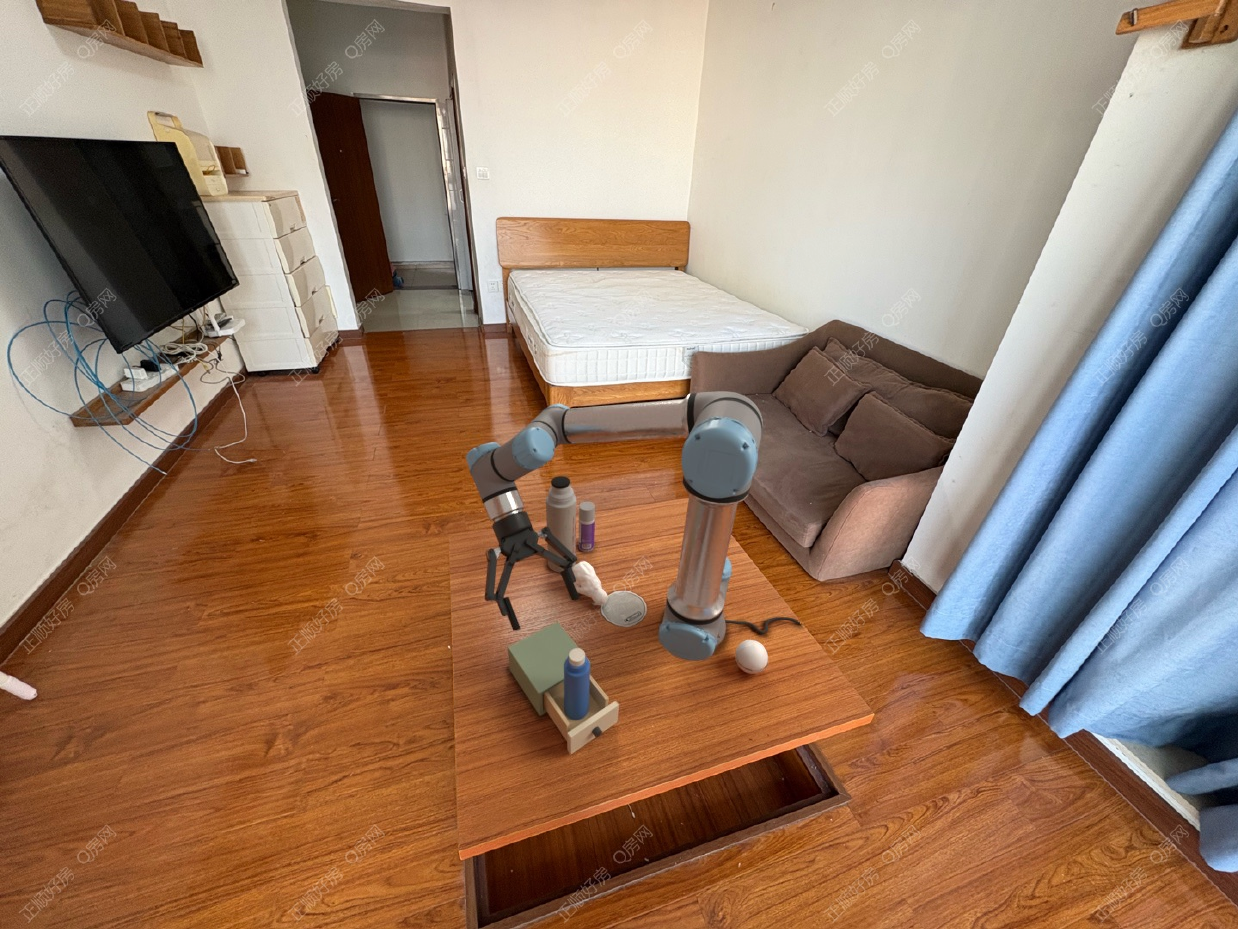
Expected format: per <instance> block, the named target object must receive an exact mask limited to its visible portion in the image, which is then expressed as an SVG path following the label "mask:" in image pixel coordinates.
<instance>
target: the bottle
mask: <svg viewBox="0 0 1238 929" xmlns="http://www.w3.org/2000/svg"><path fill="white" fill-rule="evenodd" d="M587 658H588V657H587V656H586V653H585V651H584V649H583V648H580V647H579V648H575V649H573V650H571V651H570V653H569V656H568V658H567V659H566V660H565V662H564V712H565V714H566V716H567V717H568V718H569V719H572V720H580V719H582V718H584V717H585V716H586V715H587V713H588V710H589V679H590V662H591V661H590V659H589V658H588V659H587ZM589 661H590V662H589Z"/></svg>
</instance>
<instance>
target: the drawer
mask: <svg viewBox="0 0 1238 929" xmlns="http://www.w3.org/2000/svg"><path fill="white" fill-rule="evenodd" d="M542 696H543V707H544V708H545V710H546V711H547V712H546V713H547V715H548V716H549V717H550V719H551V720H552V721H553V723H554V725H555V726H556V728H557V729H558V731H559V732H560V734H561V735H562V737H563V738H564V739H565V741H566V742H567V744H566V745H567V750H566V751H568V753H569V755H572V754H574V753H575V752H577V751H578V750H580V749H581V748H583V747H584V746H585V745H586V744H588V743H590V742H591V741H592V740H594V739H595V738H599V737H600V736H601V735H602V734H603V733H604V732H605V731H607V730H608V729H610V728H611V727H612V726H614V725H615V724H617V723H618V720H619V709H620V704H619V703H618V701H617V700H614V701H613V702H611V703H610V702H609V701H610V698H609V696H608V695H607V693H605V691H604V690H603V689H602V687H601V686H600V684H598V682H597V681H596V680H595V679H594V677H593V676H592V675H590V679H589V710H588V713H587V715H586V716H585V717H584V718H582V719H580V720H572V719H569V718H568V717H567V716H566V714H565V712H564V681H563V682H562V683H560V684H558V685H557V686H555V687H553V688H552V689H550V690H548V691H547V692H545V693H543V694H542Z"/></svg>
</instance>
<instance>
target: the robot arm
mask: <svg viewBox="0 0 1238 929" xmlns="http://www.w3.org/2000/svg"><path fill="white" fill-rule="evenodd" d="M763 430H764V420H763V417H762V413H761V411H760V409H759V408H758V406H757V404H756V403H755V402H754V401H753V400H751V398H749V397H747V396H745V395H743V394H741V393H738V392H735V391H725V390H724V391H722V390H721V391H719V390H717V391H704V392H703V391H702V392H695V393H694V392H692V393H691V392H690V393H688V394H687V396H685V398H683V399H672V400H671V399H670V400H661V401H660V400H659V401H649V402H648V401H647V402H637V403H636V402H635V403H624V404H612V405H602V406H601V405H600V406H589V407H578V408H576V407H575V408H570V407H569V406H567V405H564V404H562V403H553V404H551V405H549V406H548V407H546V408H545V409H543V410H541V411H540V412H539V414H538V415H537V416H536V417H534V419H532V420H531V421H530V422H529V423H528V424H527V425H525V427H523V428H522V429H521V430H520V431H519V432H518V433H516V434H515V435H514V436H513V437H511V439H509V440H507V441H506V442H505V443H503V444H502V445H500V444H499V443H498V442H494V441H492V442H486V443H483V444H479V445H478V446H476V447H473V448H472V449H470V450H469V451H467V453H466V455H465V459H466V463H467V467H468V470H469V474H470V476H471V478H472V479H473V482H474V484H475V487H476V489H477V492H478V495H479V497H480V499H481V502H482V504H483V506H484V510H485V512H486V514H487V517H488V519H489V522H493V523H492V526H491V528H492V530H493V533H494V535H495V538H496V540H497V542H498V547H495V548H489V549H487V550H486V551H485V557H486V561H487V566H486V577H485V578H486V579H485V588H484V601H485V602H493V601H494V602H496V604H497V607H498V610H499V612H500V615H501V616H502V617H507V618H508V622H509V623H510V627H511V628H512V631H519V630H521V625H520V623H519V619H518V617H517V615H516V612H515V610H514V607H513V605H512V603H511V599H510V597H509V596H506V597H505V593H506V590H507V587H508V584H509V581H510V578H511V575H512V573H513V569H514V566H515V564H516V563H519V562H521V561H524V560H525V559H528V558H531V557H532V556H534V555H535V556H538V557H540V558H542V559H544V560H546V561H547V562H548V561H549V562H551V563H553V564H555V565H557V566H559V567H560V568H562V569H564V570H563V571H561V572H559V573H560V576H561V578H562V580H563V583H564V586H565V587H566V588H565V589H566V590H567V593H568V595H569V598H570V601H578V600H580V599H581V598H580V596H579V593H577V590H576V588H575V585H574V582H576V577H575V575H574V573H573V570H572V566H573V563H574V562H576V563H577V561H578V557H577V555H576V556H575V555H574V554H573V553H572V552H571V551H569V550H568V549H567V548H566V547H565V546H564V545H563V544H562V543H561V542H560V541H559V540H558V539H557V538H555V537H554V536H553V534H552V533H551V531H550V529H549V527H547V526H544V527H542V528H540V530H539V531H536V530H535V529H534V526H533V524H532V521H531V519H530V516H529V515H528V512H527V511H526V510H524V509H525V504H524V501H523V499H522V497H521V495H520V492H519V490H518V487H517V484H516V481H517V480H519V479H521V478H522V477H524V476H527V475H528V474H530V473H532V472H534V471H536V470H537V469H541V468H543V466H544V465H546V464H547V463H549V462H551V460H552V459H553V458H554V456H555V450H556V448H557V447H558V446H560V445H572V444H590V443H609V442H610V443H611V442H612V443H613V442H628V441H629V442H631V441H652V440H674V439H686V440H685V442H684V443H683V446H682V450H681V458H680V459H681V460H680V461H681V462H680V463H681V464H680V465H681V470H682V471H681V472H682V473H683V474H682V486H683V489H684V490H685V491H686V492H687V494H688V501H687V507H686V508H687V509H686V513H685V514H686V515H685V522H684V528H683V529H684V530H683V534H682V542H681V547H680V548H681V549H680V554H679V562H678V570H677V576H676V579H675V580H674V581H673V582H672V583H671V584H670V585H669V586H668V589H667V594H666V599H665V607H664V612H663V618H662V620H661V623H660V625H659V627H658V635H657V636H658V640H659V643H660V645H661V646H662V647H663V648H664V650H666V651H667V652H668V653H669V654H671V655H672V656H674V657H676V658H677V659H678V658H679V659H680V660H684V661H688V662H700V661H706V660H708V659H709V658H711V657H712V656H713V655H714V653H715V649H717V648H719V647H720V645H722V643H723V641H724V639H725V636H726V632H727V624H730V625H731V624H733V625H746V626H749V627H751V628H752V629H753V630H755V632H757V633H758V634H761V635H763V634H766V633H767V632H768V631H769V630H768V629H769V623H772V622H775V621H788V622H792V623H795V624H797V625H799V626H802V625H803V624H802V622H801V621H799V620H798V621H799V622H798V621H797V619H795V618H793V617H787V616H776V617H772V618H769V619H767V620H765V622H764V629H762V630H761V629H759V628H758V627H757V626H756V625H755V624H753V623H752V622H749V621H743V620H730V619H726V618H725V615H724V609H725V602H726V597H727V593H728V588H729V584H730V580H731V577H732V568H733V566H732V563H731V560H730V559H729V557H728V551H729V547H730V543H731V536H732V532H733V527H734V522H735V518H736V513H737V508H738V504H739V503H741V502H743V501H744V500H745V499H747V498H748V496H749V494H750V490H751V486H752V481H753V478H754V475H755V472H756V471H757V470H756V469H757V466H758V460H759V450H760V446H761V440H762V435H763ZM539 538H540V539H541V540H543V541H545V543H548V544H549V545H550V546H551V547H552V548H553V549H554V550H556V551H557V552H558V553H559V554H560V555H561V556H562V557H563V558H564V559H565V560H564V559H562V558H561V557H559V556H557V555H555V554H553V553H552V552H550V551H548V550H547V548H545V547H544V546H542V545H541V544H539V543H538V542H539ZM500 554H501V555H502V556H504V557H506V558H505V560H504V564H503V569H502V571H501V575H500V578H499V581H498V583H497V587H496V576H497V566H498V560H497V559H499V557H500ZM495 587H496V588H495ZM495 589H496V591H495ZM800 622H801V624H802V625H801V624H800Z"/></svg>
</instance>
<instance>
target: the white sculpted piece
mask: <svg viewBox="0 0 1238 929" xmlns="http://www.w3.org/2000/svg"><path fill="white" fill-rule="evenodd" d="M572 570H573V573H574V575H575V577H576V582H574V585H575V588H576V590H577V593H578V594H580V595H585V596H586V597H588V598H591V599H592V600H593V602H591V604H592V605H594V606H600V607H601V606H602V605H605V604H606V603H607V602H608V596H609V595H608V593H607V591H606V590H604V589H602V582H601V580H600V579H599V577H598V575H597V574H596V571H595V568H594V567H593V565H591V564H590V563H589V562H587V561H586V560H582V561H579V562H578V563H576V564H575V566H574V567H573V568H572Z"/></svg>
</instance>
